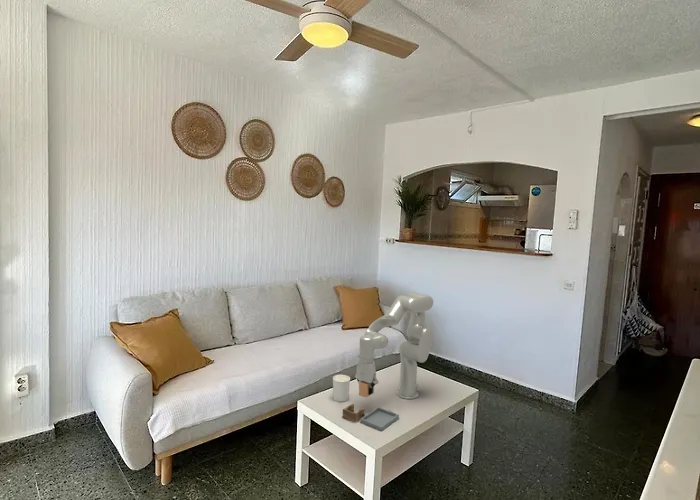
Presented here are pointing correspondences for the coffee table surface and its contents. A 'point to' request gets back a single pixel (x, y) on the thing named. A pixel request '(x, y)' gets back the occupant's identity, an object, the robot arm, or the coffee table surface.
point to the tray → (379, 418)
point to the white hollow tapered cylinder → (341, 388)
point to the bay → (350, 415)
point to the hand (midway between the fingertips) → (366, 392)
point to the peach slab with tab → (364, 389)
